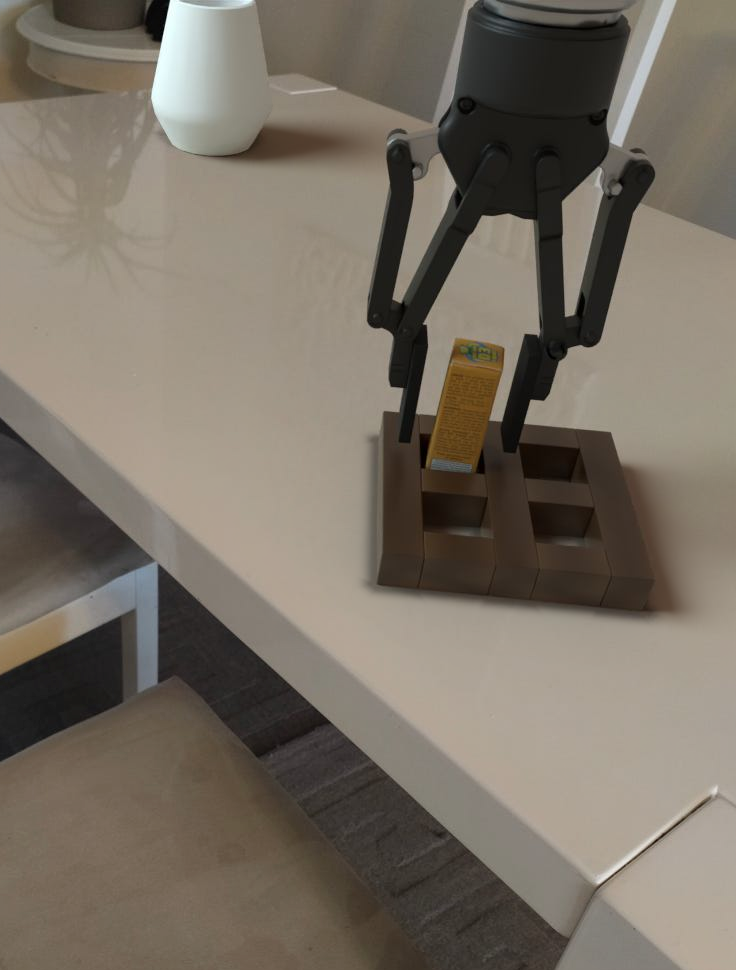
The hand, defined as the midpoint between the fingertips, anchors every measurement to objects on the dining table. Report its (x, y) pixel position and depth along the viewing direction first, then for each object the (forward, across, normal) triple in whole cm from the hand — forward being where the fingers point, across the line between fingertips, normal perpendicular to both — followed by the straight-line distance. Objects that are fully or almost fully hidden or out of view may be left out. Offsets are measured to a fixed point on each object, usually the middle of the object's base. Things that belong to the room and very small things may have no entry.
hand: (455, 435), depth 61 cm
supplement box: (+4, 0, 0) cm, 4 cm away
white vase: (+4, -24, +64) cm, 68 cm away
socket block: (+4, +3, -3) cm, 6 cm away
